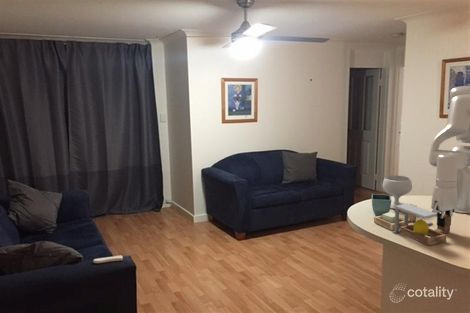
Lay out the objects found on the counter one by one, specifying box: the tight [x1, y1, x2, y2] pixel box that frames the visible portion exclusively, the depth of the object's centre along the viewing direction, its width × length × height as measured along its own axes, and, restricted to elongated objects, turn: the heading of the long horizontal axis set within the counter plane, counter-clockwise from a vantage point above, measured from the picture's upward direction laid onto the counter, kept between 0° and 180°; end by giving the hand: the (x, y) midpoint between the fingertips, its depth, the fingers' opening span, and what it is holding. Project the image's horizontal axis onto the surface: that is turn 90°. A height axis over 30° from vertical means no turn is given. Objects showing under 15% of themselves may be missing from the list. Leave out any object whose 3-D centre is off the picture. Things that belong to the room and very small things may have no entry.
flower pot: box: [371, 193, 392, 217], centre depth 185 cm, size 9×9×9 cm
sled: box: [373, 203, 418, 231], centre depth 173 cm, size 18×11×7 cm, turn 112°
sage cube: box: [382, 211, 395, 224], centre depth 172 cm, size 5×5×5 cm
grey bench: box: [392, 203, 437, 235], centre depth 159 cm, size 22×15×12 cm
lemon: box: [413, 218, 429, 237], centre depth 157 cm, size 6×6×8 cm
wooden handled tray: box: [399, 213, 452, 246], centre depth 159 cm, size 18×15×7 cm
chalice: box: [382, 174, 413, 210], centre depth 195 cm, size 14×14×15 cm
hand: (443, 225), depth 161 cm, fingers closed on wooden handled tray, 3 cm apart
